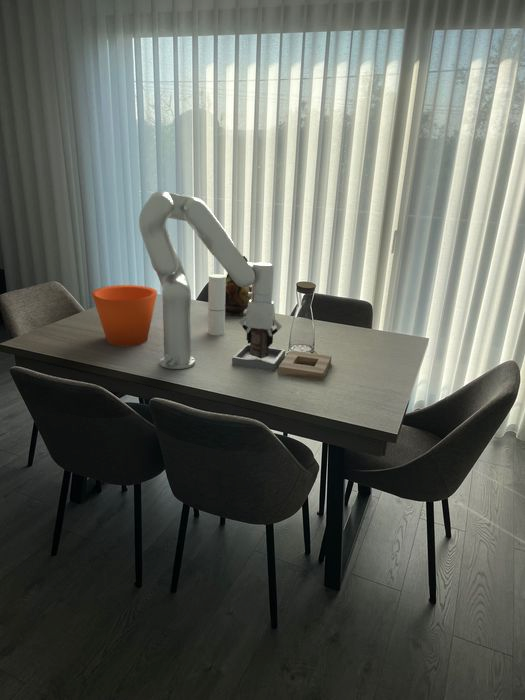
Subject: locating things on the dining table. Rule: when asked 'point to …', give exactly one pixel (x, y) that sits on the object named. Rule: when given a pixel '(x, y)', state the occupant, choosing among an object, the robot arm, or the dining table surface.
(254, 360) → the tray
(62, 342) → the dining table surface
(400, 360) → the dining table surface
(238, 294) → the ceramic jug
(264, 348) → the box
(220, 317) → the cylindrical container
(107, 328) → the flowerpot
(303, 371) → the socket board
